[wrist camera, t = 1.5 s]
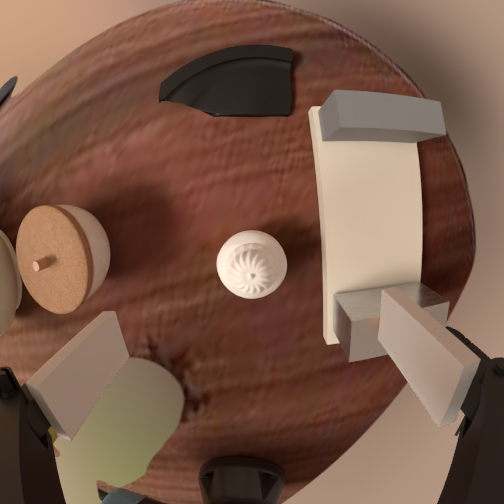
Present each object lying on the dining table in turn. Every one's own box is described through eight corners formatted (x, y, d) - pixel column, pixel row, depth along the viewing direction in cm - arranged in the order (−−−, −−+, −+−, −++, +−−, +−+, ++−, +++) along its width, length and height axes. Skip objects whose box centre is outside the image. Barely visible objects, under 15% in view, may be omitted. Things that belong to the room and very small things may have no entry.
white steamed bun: (287, 230, 27) (297, 243, 20) (278, 288, 28) (284, 318, 22) (225, 221, 27) (214, 232, 20) (219, 280, 28) (207, 308, 21)
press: (407, 320, 29) (440, 353, 21) (323, 335, 29) (340, 378, 22) (402, 115, 24) (443, 97, 16) (308, 112, 24) (326, 83, 17)
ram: (415, 314, 26) (495, 391, 12) (332, 330, 27) (384, 439, 12) (418, 281, 25) (512, 346, 11) (333, 294, 26) (398, 394, 11)
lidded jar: (112, 188, 26) (58, 189, 17) (137, 281, 29) (94, 316, 19) (49, 214, 27) (-4, 225, 18) (71, 295, 29) (26, 324, 20)
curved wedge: (168, 55, 24) (164, 49, 22) (291, 53, 23) (293, 46, 22) (159, 120, 25) (154, 117, 24) (290, 120, 25) (292, 116, 24)
